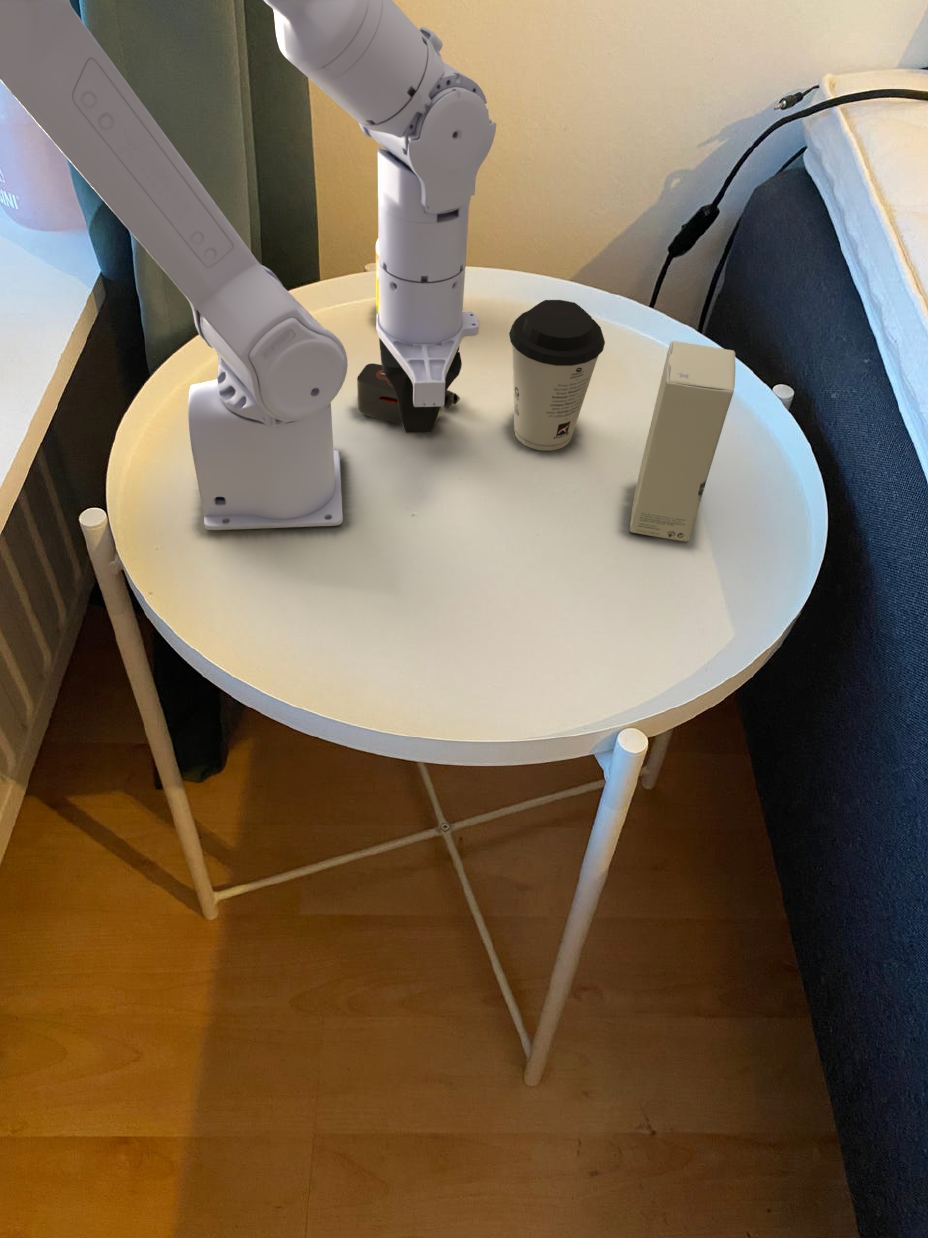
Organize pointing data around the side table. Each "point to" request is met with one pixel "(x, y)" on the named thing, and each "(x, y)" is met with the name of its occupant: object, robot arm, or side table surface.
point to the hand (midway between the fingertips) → (417, 427)
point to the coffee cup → (552, 371)
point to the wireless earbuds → (385, 395)
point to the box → (682, 439)
